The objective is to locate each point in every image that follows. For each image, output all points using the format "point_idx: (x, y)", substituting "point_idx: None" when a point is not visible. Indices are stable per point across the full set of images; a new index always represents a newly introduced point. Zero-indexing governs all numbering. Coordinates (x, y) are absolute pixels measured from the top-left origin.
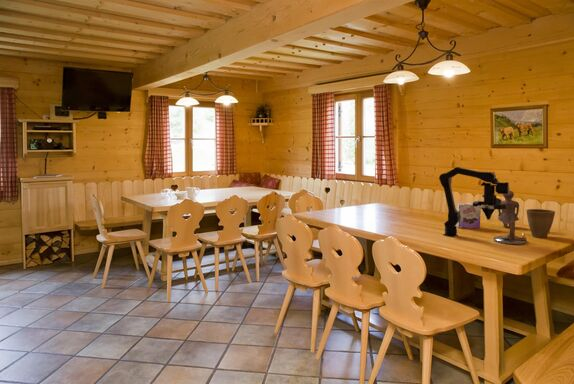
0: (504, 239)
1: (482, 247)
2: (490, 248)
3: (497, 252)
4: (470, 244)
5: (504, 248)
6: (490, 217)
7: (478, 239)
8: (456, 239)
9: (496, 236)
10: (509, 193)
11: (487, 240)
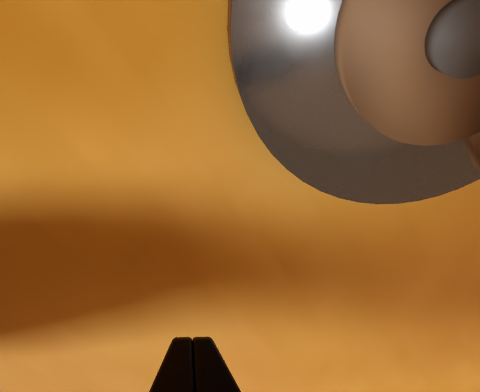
0: None
1: (319, 374)
2: (372, 358)
3: (440, 388)
4: None
5: (450, 297)
6: (235, 383)
7: (120, 209)
8: (11, 351)
9: (235, 23)
10: None
11: (210, 176)
